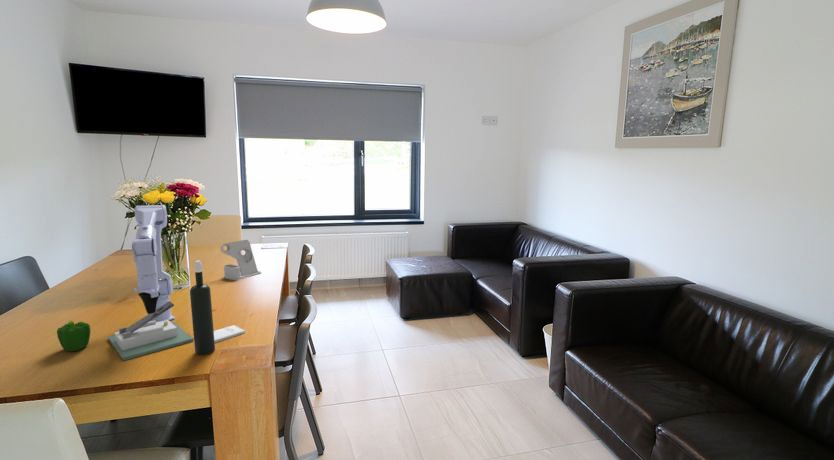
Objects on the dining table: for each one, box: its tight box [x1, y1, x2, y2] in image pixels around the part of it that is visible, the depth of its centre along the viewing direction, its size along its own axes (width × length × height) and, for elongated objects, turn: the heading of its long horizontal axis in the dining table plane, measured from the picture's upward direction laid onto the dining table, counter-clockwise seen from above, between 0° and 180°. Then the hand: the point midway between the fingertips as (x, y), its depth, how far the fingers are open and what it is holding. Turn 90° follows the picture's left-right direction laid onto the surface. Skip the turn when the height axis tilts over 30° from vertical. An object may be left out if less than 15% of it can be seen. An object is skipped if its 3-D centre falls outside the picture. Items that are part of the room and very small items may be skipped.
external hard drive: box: [214, 324, 246, 344], centre depth 149 cm, size 2×8×12 cm
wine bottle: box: [189, 260, 216, 356], centre depth 134 cm, size 6×6×30 cm
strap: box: [122, 301, 175, 333], centre depth 144 cm, size 16×4×1 cm, turn 136°
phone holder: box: [220, 239, 262, 281], centre depth 224 cm, size 17×10×18 cm, turn 148°
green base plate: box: [107, 320, 194, 361], centre depth 144 cm, size 22×20×6 cm
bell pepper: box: [56, 320, 91, 352], centre depth 137 cm, size 8×8×10 cm
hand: (151, 312), depth 144 cm, fingers closed
